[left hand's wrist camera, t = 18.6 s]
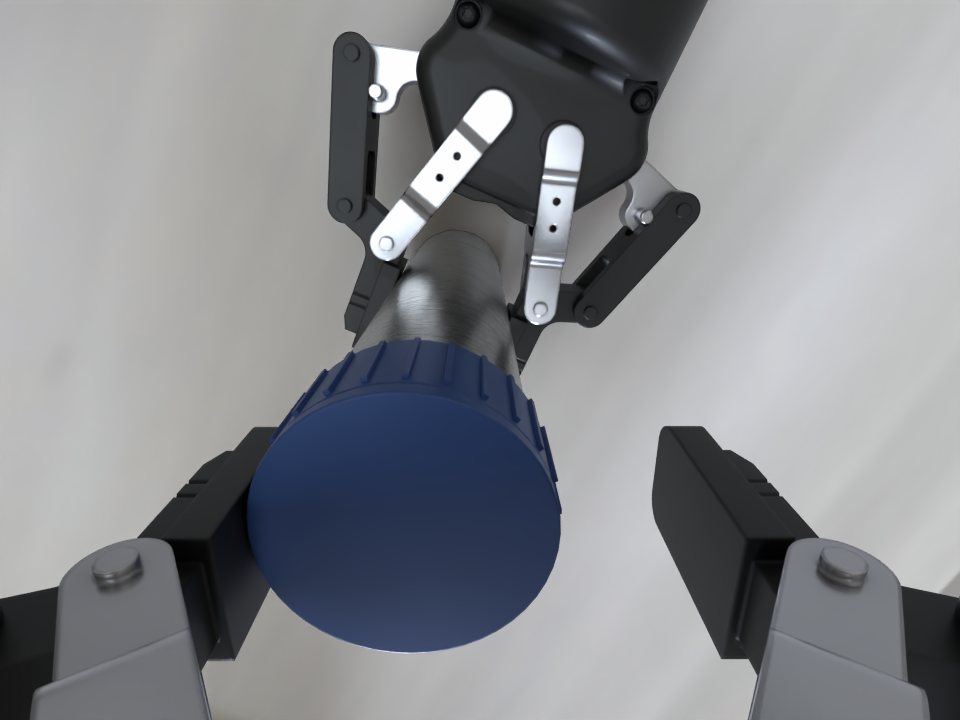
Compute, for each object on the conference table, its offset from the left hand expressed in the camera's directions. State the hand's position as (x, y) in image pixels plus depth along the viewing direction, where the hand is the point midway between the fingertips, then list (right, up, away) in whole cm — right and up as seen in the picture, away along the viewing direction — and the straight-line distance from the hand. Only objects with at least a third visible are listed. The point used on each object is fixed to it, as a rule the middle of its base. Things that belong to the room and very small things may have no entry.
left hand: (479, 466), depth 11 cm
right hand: (-2, +2, +11) cm, 12 cm away
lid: (-1, 0, -2) cm, 3 cm away
